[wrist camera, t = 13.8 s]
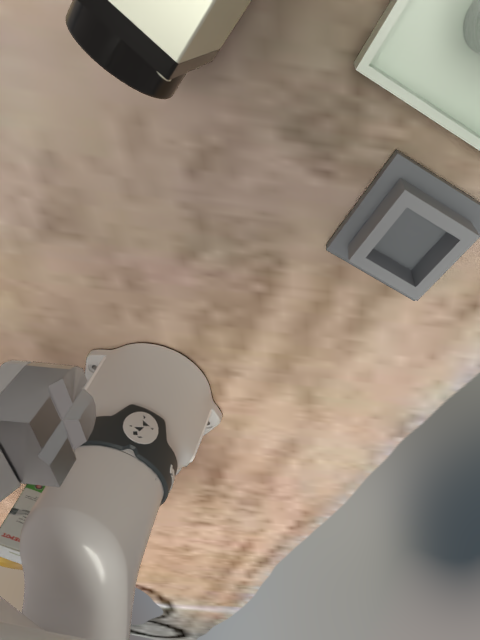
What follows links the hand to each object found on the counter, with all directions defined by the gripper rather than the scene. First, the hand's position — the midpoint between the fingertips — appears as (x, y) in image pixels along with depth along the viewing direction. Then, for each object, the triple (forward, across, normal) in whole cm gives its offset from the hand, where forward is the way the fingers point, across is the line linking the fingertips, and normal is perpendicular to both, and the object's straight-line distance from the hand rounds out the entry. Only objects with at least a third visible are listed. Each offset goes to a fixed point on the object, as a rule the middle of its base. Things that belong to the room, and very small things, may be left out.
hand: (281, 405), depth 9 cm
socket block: (+33, -8, +10) cm, 36 cm away
